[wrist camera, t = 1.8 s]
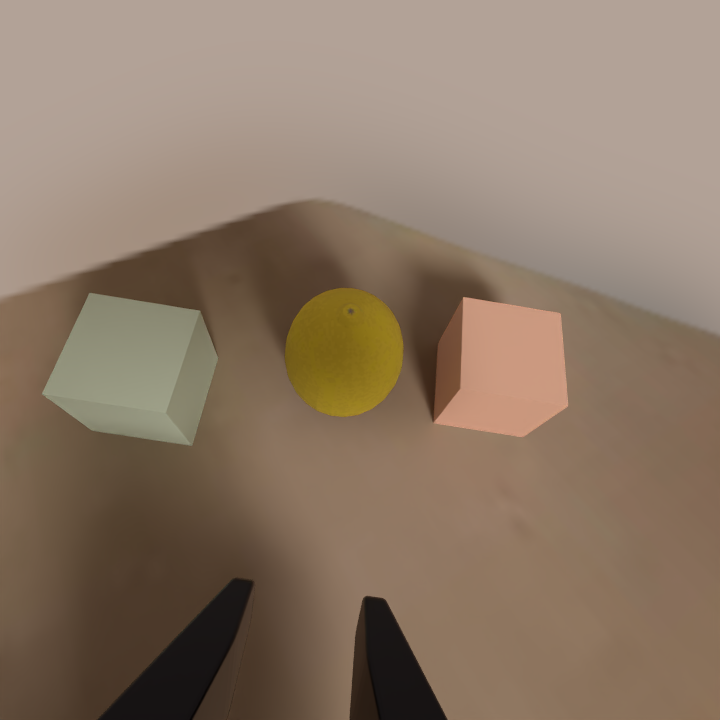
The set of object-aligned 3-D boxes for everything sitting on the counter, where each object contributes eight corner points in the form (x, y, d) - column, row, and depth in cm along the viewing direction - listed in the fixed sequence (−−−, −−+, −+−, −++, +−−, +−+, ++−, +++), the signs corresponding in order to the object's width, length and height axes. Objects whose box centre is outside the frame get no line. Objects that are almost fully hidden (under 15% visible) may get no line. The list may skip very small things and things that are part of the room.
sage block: (192, 446, 23) (165, 413, 19) (92, 431, 23) (42, 393, 19) (218, 358, 26) (199, 310, 21) (127, 344, 25) (89, 292, 21)
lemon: (276, 355, 26) (266, 268, 19) (370, 333, 27) (393, 244, 20) (302, 449, 24) (301, 390, 17) (402, 420, 25) (441, 354, 18)
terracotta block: (522, 437, 26) (568, 406, 21) (432, 423, 25) (460, 388, 21) (519, 357, 28) (560, 313, 23) (437, 344, 28) (463, 296, 23)
